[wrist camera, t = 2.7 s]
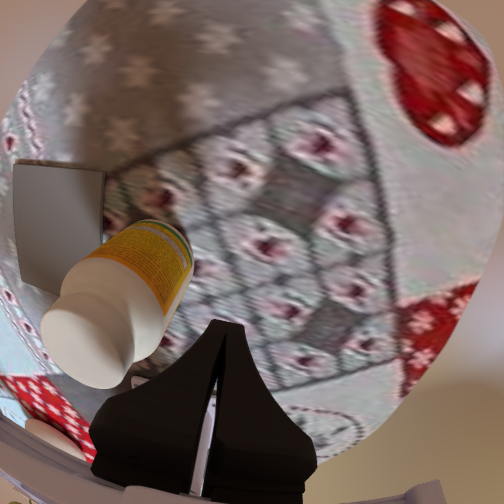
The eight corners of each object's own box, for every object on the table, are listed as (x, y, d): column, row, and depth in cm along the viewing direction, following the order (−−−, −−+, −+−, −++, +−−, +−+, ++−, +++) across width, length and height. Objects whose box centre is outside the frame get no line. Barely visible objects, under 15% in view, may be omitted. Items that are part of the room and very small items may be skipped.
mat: (105, 307, 20) (102, 309, 19) (24, 279, 19) (21, 281, 19) (105, 171, 16) (102, 172, 16) (16, 163, 16) (13, 164, 15)
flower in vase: (31, 427, 31) (-19, 525, 8) (28, 401, 28) (-39, 520, 4) (94, 467, 33) (56, 572, 10) (103, 450, 30) (55, 582, 6)
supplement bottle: (190, 302, 19) (143, 416, 10) (118, 283, 19) (42, 374, 10) (202, 226, 17) (139, 319, 8) (121, 209, 17) (16, 275, 8)
